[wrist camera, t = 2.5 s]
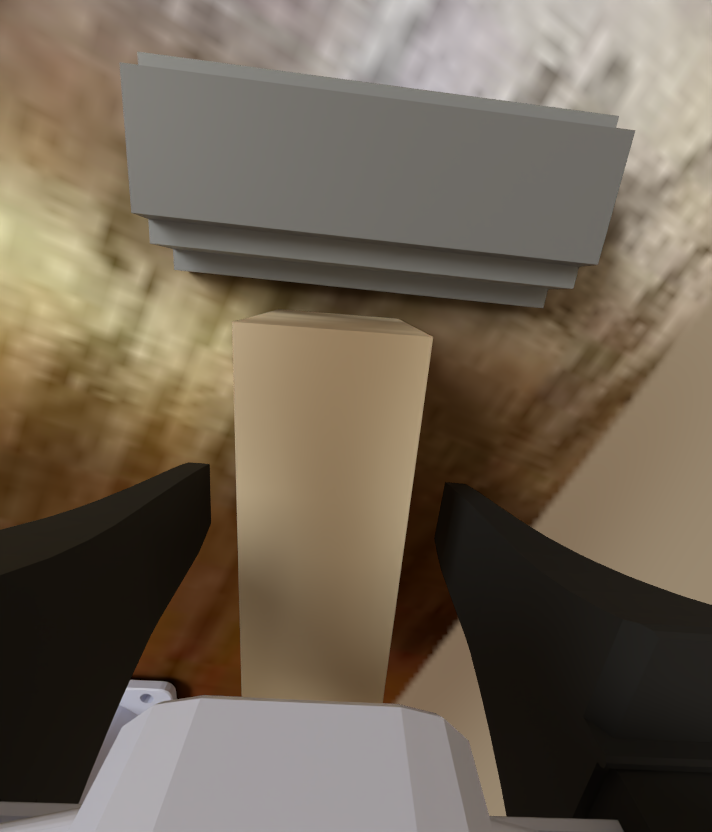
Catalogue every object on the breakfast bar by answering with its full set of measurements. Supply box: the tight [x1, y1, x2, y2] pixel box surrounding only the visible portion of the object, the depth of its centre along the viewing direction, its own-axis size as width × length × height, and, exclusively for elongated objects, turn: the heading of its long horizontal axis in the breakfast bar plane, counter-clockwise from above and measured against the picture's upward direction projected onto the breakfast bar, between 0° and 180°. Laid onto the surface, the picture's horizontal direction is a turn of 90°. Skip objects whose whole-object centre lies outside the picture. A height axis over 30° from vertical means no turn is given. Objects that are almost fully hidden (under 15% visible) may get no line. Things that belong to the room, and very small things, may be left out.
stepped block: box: [120, 52, 635, 308], centre depth 9 cm, size 10×4×3 cm, turn 84°
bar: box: [232, 309, 433, 703], centre depth 11 cm, size 4×11×5 cm, turn 176°
